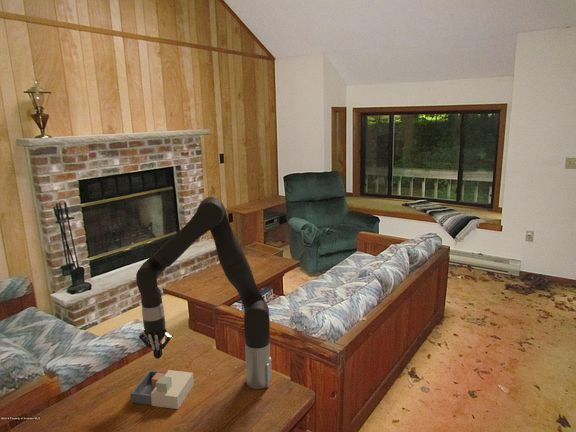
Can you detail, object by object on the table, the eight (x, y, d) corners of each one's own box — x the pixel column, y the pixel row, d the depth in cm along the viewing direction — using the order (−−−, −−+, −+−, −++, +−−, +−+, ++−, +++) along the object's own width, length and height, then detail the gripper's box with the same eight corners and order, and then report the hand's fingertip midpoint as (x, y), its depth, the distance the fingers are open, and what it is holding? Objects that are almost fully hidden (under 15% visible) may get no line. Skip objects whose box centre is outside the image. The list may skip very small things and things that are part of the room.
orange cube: (165, 373, 161) (156, 372, 162) (160, 379, 157) (151, 378, 158) (166, 382, 162) (157, 381, 163) (161, 389, 158) (152, 388, 159)
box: (169, 381, 163) (168, 372, 162) (151, 405, 150) (150, 396, 149) (150, 379, 165) (149, 370, 164) (131, 403, 151) (130, 393, 150)
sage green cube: (172, 385, 153) (171, 377, 152) (167, 392, 149) (166, 384, 148) (161, 384, 154) (161, 375, 153) (156, 391, 150) (155, 382, 149)
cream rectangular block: (193, 384, 162) (193, 372, 160) (178, 409, 148) (177, 396, 147) (169, 381, 163) (168, 370, 162) (151, 405, 150) (150, 393, 149)
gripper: (175, 311, 155) (179, 353, 160) (142, 309, 158) (147, 350, 162) (165, 321, 148) (170, 364, 152) (131, 319, 150) (136, 361, 155)
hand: (158, 357), depth 157 cm, fingers closed
